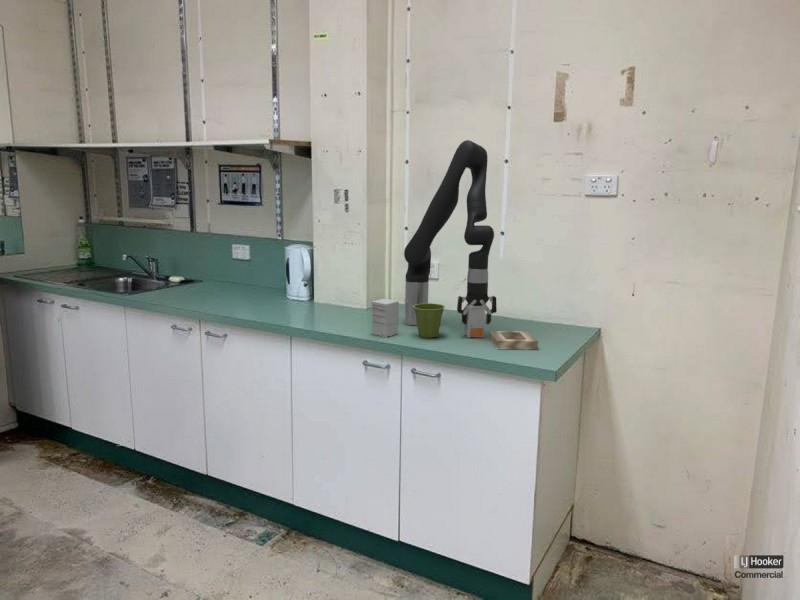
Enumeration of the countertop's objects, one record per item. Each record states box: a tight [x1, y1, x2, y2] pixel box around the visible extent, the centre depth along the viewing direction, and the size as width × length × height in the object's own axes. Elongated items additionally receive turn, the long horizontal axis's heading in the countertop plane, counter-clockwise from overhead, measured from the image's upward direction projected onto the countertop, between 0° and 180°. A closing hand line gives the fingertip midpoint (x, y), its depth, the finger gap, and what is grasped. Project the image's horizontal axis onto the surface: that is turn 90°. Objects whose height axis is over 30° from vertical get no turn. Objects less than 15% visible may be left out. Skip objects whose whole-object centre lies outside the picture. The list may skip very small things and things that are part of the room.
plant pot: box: [413, 302, 446, 339], centre depth 214 cm, size 12×12×11 cm
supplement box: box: [371, 298, 400, 338], centre depth 215 cm, size 7×7×13 cm
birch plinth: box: [488, 330, 539, 350], centre depth 206 cm, size 14×14×3 cm
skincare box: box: [464, 304, 486, 339], centre depth 214 cm, size 6×4×12 cm
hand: (476, 324), depth 215 cm, fingers open, 8 cm apart
